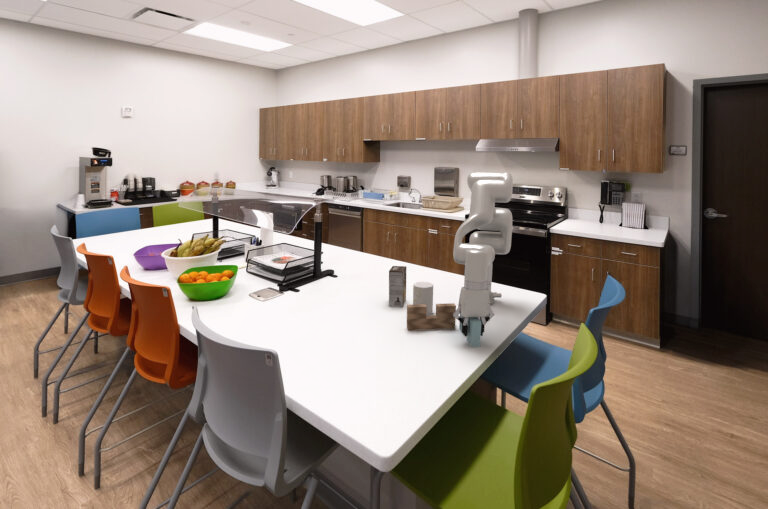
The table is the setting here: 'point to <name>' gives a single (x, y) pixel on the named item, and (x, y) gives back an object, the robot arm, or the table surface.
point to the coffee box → (397, 286)
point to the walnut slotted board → (430, 317)
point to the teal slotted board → (473, 331)
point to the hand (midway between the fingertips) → (472, 334)
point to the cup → (423, 295)
